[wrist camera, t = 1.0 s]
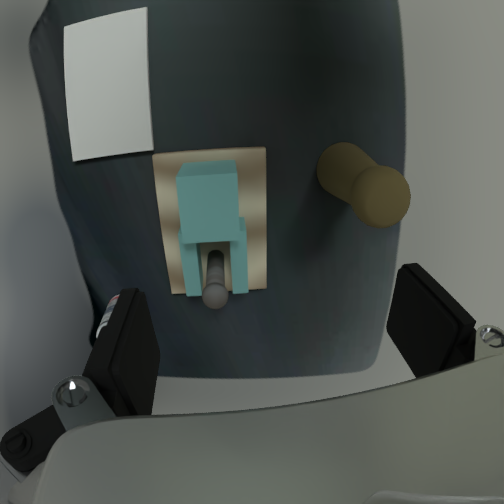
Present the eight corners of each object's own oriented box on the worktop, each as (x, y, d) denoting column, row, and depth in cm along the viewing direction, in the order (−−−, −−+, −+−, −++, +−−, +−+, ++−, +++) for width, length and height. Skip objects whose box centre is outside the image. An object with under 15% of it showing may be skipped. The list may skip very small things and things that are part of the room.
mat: (66, 27, 23) (64, 27, 22) (147, 8, 23) (146, 7, 23) (75, 160, 30) (73, 161, 29) (154, 148, 30) (153, 149, 30)
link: (176, 163, 30) (167, 177, 25) (242, 159, 31) (246, 172, 26) (189, 278, 36) (185, 307, 31) (246, 275, 37) (249, 304, 32)
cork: (353, 204, 35) (398, 249, 25) (306, 183, 33) (341, 223, 24) (377, 157, 33) (433, 186, 23) (331, 132, 31) (378, 152, 21)
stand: (154, 153, 31) (129, 178, 22) (264, 146, 31) (280, 167, 23) (173, 288, 38) (162, 343, 30) (265, 282, 39) (277, 337, 30)
